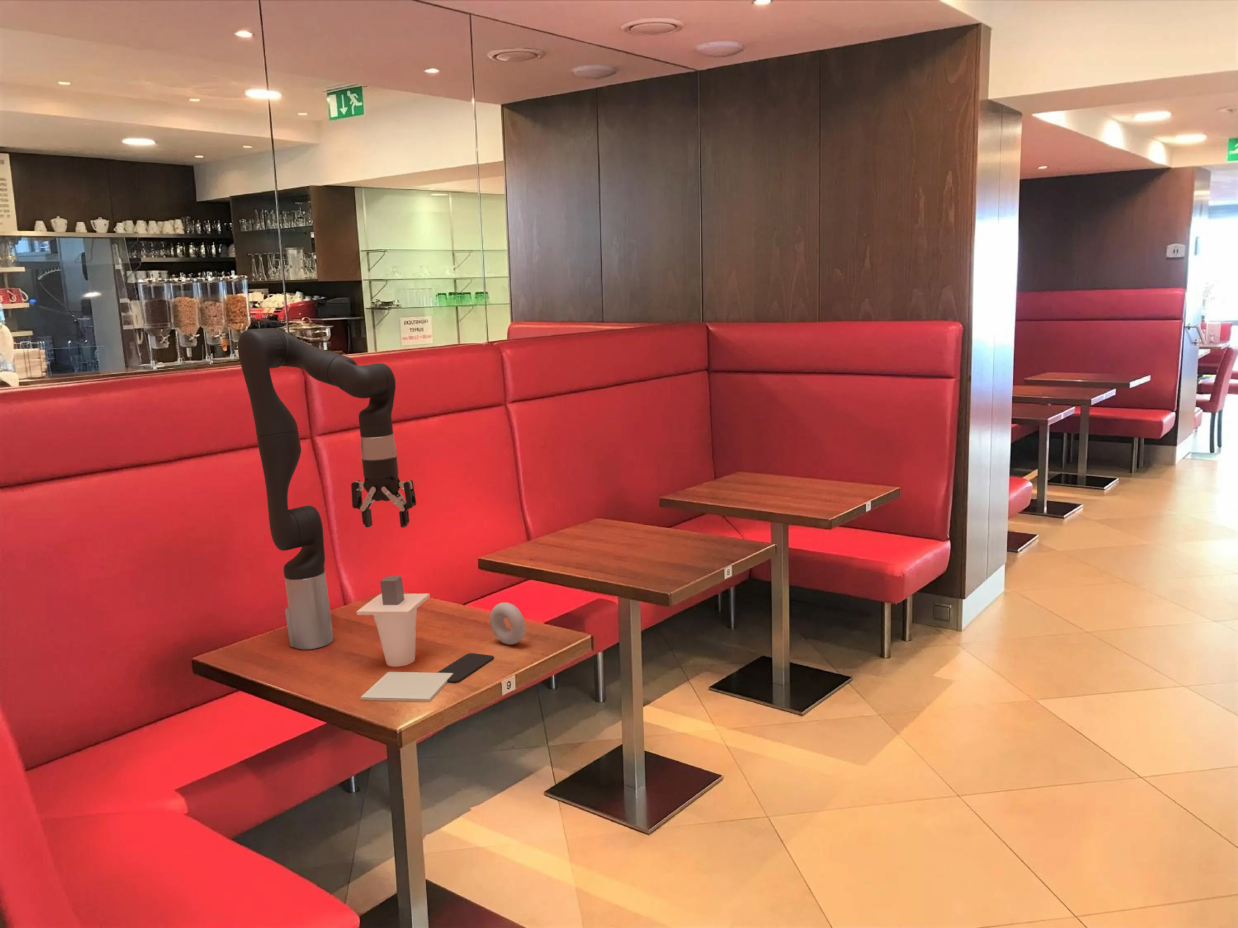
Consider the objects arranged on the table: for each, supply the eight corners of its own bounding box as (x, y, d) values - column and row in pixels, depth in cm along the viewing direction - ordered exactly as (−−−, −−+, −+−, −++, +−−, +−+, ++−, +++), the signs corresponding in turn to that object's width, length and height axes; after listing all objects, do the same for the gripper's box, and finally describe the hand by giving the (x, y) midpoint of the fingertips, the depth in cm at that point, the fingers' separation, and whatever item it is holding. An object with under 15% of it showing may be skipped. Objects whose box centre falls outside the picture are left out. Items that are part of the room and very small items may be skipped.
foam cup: (384, 672, 211) (378, 615, 209) (374, 659, 219) (368, 604, 217) (427, 662, 215) (421, 606, 213) (415, 649, 223) (409, 596, 221)
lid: (356, 614, 210) (353, 587, 209) (380, 596, 222) (377, 570, 221) (408, 615, 208) (405, 586, 207) (429, 596, 220) (426, 570, 218)
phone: (496, 655, 215) (457, 681, 202) (496, 659, 216) (457, 685, 202) (468, 652, 219) (428, 677, 206) (469, 655, 219) (428, 681, 206)
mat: (360, 699, 197) (360, 697, 197) (388, 674, 210) (388, 671, 210) (429, 701, 194) (429, 698, 194) (453, 675, 207) (453, 672, 207)
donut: (488, 642, 225) (484, 601, 223) (499, 637, 228) (495, 597, 226) (520, 650, 219) (516, 608, 217) (530, 645, 221) (526, 603, 220)
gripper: (341, 459, 211) (349, 531, 214) (401, 458, 208) (409, 531, 211) (357, 452, 218) (365, 522, 221) (416, 451, 215) (423, 522, 218)
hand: (386, 526), depth 216 cm, fingers open, 8 cm apart
